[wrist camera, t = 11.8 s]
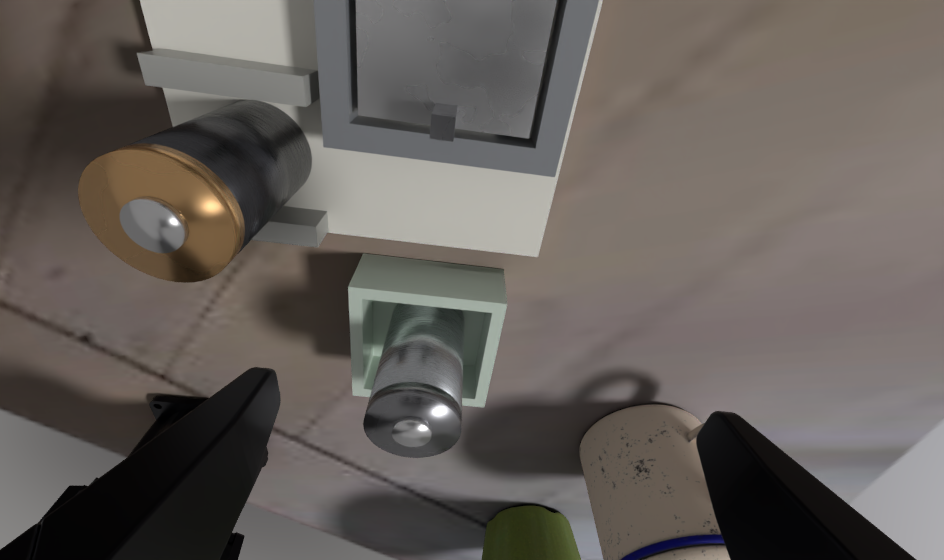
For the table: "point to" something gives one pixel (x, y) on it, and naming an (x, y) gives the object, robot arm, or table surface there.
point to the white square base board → (369, 124)
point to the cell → (195, 189)
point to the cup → (426, 285)
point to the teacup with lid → (650, 486)
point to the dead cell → (418, 383)
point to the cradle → (452, 63)
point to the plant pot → (529, 536)
